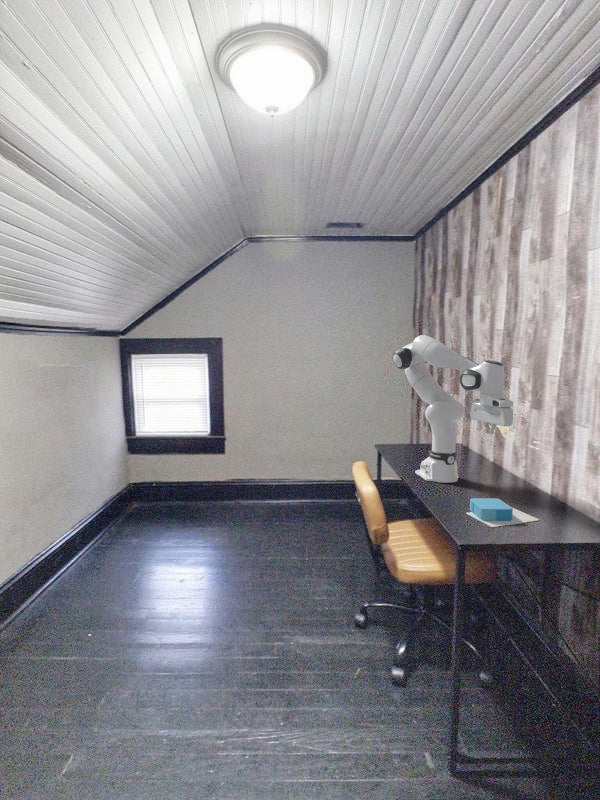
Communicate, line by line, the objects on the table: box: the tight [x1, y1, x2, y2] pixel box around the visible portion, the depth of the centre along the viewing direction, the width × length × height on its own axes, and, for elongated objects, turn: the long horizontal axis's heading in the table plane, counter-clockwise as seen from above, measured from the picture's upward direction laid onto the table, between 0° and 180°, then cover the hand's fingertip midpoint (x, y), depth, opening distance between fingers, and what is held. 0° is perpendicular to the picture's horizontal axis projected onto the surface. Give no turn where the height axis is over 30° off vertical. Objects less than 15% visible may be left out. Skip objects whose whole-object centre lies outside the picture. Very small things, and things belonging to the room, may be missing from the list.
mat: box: [465, 507, 540, 528], centre depth 162 cm, size 14×22×1 cm, turn 108°
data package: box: [469, 497, 514, 521], centre depth 163 cm, size 12×4×12 cm
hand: (489, 433), depth 175 cm, fingers closed
